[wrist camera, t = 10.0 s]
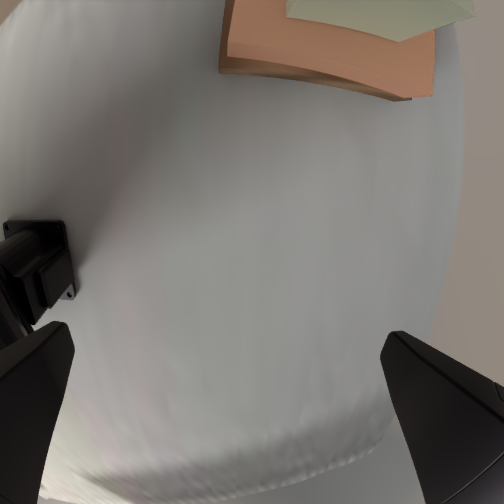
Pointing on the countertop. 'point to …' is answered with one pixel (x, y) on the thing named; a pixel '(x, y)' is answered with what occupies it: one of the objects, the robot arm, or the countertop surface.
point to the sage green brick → (383, 15)
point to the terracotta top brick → (332, 49)
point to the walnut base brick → (286, 67)
